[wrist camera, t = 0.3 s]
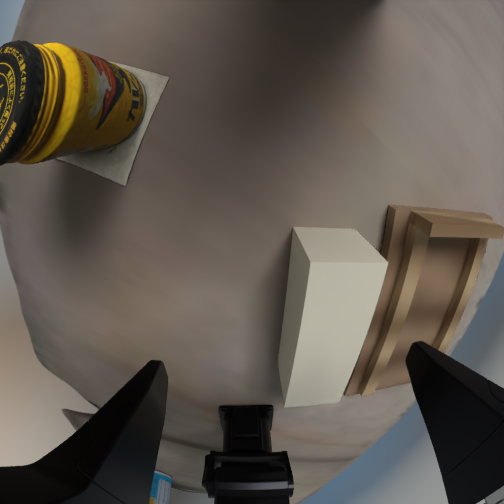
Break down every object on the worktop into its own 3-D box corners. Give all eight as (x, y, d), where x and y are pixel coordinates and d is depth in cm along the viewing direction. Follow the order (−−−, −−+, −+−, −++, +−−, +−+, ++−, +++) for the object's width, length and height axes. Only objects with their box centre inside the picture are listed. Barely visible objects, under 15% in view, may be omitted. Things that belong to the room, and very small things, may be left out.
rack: (426, 370, 29) (439, 391, 25) (342, 388, 29) (351, 415, 25) (485, 214, 20) (512, 228, 16) (388, 205, 20) (416, 222, 16)
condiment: (169, 77, 15) (77, 21, 4) (126, 185, 18) (18, 254, 8) (91, 57, 14) (-21, 27, 3) (56, 156, 17) (-59, 197, 6)
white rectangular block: (324, 357, 26) (338, 402, 21) (277, 359, 26) (284, 407, 21) (354, 228, 21) (388, 262, 15) (292, 225, 20) (310, 262, 15)
